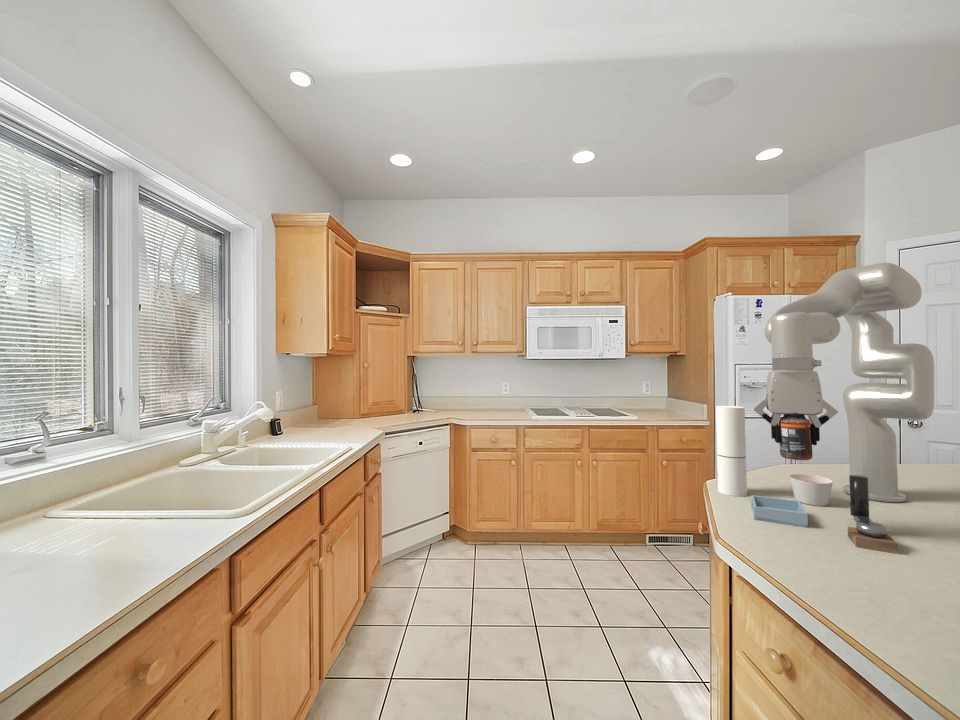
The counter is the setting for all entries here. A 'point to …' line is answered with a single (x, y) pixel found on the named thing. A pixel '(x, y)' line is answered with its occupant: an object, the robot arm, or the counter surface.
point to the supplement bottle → (795, 437)
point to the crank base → (872, 541)
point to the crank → (863, 507)
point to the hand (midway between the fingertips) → (795, 442)
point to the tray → (779, 511)
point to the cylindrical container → (731, 450)
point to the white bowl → (811, 489)
